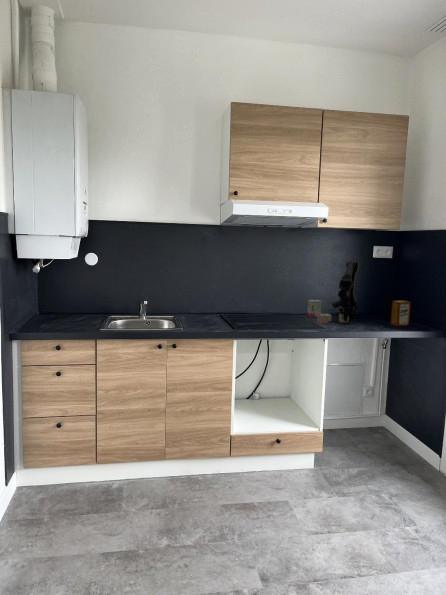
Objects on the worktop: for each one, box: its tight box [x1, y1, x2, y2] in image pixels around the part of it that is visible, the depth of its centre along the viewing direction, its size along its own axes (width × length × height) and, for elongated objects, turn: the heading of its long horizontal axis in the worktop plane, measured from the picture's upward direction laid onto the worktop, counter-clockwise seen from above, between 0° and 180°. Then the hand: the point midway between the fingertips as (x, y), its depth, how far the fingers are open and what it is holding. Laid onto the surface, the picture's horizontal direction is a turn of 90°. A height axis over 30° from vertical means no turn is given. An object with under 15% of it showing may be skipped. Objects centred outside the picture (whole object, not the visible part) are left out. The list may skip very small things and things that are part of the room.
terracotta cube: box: [316, 315, 329, 324], centre depth 296 cm, size 5×5×5 cm
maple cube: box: [338, 313, 350, 323], centre depth 302 cm, size 5×5×5 cm
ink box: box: [307, 299, 323, 318], centre depth 320 cm, size 9×5×12 cm, turn 103°
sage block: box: [319, 313, 333, 322], centre depth 308 cm, size 7×7×4 cm
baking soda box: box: [390, 300, 412, 327], centre depth 296 cm, size 10×6×16 cm
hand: (343, 320), depth 303 cm, fingers closed on maple cube, 5 cm apart
